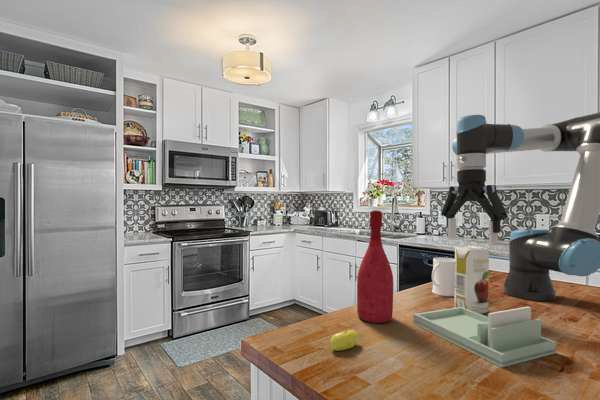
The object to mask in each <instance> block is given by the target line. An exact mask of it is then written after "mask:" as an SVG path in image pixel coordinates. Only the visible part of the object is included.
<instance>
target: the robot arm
mask: <svg viewBox="0 0 600 400" xmlns="http://www.w3.org/2000/svg"><path fill="white" fill-rule="evenodd" d="M456 124H457V125H456V136H455V138H454V139H453V140H452V145H451V147H452V148H451V149H452V151H453V153H454V154H455V155H456V157H457V158H456V163H457V165H456V168H457V169H458V171H457V172H456V174H457V175H456V177H457V178H456V181H457V183H458V186H449V189H448V195H447V197H446V199H445V202H444V205H443V207H442V210H441V212H440V215H441V216H443V217H445V218H446V229H447V236H448V238H447V239H448V240H450V241H451V240H457V237H458V236H457V234H458V233H457V227H458V226H457V217H456V215H457V214H458V213H459V211H460V209H461V208H462V207H463V205H464V204H465V203H467V202H476V203H478V204H479V205H480V206H481V208H482V209H483V211H484V212H485V213H486V214H487V216H488V217H489V218H490V220H488V245H489V246H496V245H499V234H500V233H501V222H502V221H503V220H507V219H508V218H509V215H508V213H507V211H506V209H505V207H504V205H503V203H502V201H501V199H500V197H499V194H498V192H497V185H496V184H486V181H487V170H485V169H486V167H487V155H488V154H498V153H499V154H500V153H511V152H522V151H523V152H524V151H525V152H526V151H534V150H535V151H537V150H539V151H542V152H547V153H548V152H577V153H578V154H579V155H580V156H579V159H578V163H577V166H576V168H575V172H574V176H573V178H572V181H571V185H570V187H569V191H568V195H567V198H566V201H565V204H564V208H563V210H562V214H561V216H560V217H561V218H560V221H559V222H558V223H557V224H555V225H552V227H551V229H550V230H549V229H518V230H516V229H515V230H513V231H511V232H510V234H509V240H508V244H509V245H508V246H509V251H508V252H509V271H508V274H507V276H506V278H505V281H504V284H503V293H505V294H506V295H508V296H512V297H513V298H514V297H515V298H518V299H524V300H531V301H538V302H548V301H549V302H550V301H554V300H556V290H555V287H554V285H553V282H552V278H551V276H550V271H552V272H557V273H562V274H565V275H567V276H576V277H588V276H591V275H592V274H595V273H596V272H597V271H598V270H599V269H600V241H599V238H600V236H599V235H598V234H597V233H596V231H595V229H596V225H597V222H598V219H599V216H600V112H596V113H591V114H586V115H582V116H578V117H575V118H570V119H567V120H563V121H560V122H555V123H548V124H544V125H542V126H541V127H533V128H532V127H531V128H522V127H521V126H519V125H515V124H511V123H506V124H503V123H502V124H500V123H494V124H493V123H487V120H486V116H485V115H483V114H469V115H468V114H467V115H464V116H462V117H459V118H458V120H457V123H456ZM485 193H486V194H485ZM486 195H487V196H486Z"/></svg>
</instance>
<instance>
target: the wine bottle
mask: <svg viewBox="0 0 600 400" xmlns="http://www.w3.org/2000/svg"><path fill="white" fill-rule="evenodd" d="M369 216H370V219H369V227H370V237H369V243H368V246H367V248H366V251H365V254H364V256H363V257H362V260H361V262H360V265H359V267H358V272H357V276H356V277H357V278H356V279H357V280H356V310H357V316H358V317H359V318H360V319H361V320H362V321H365V322H367V323H372V324H384V323H388V322H389V321H391V319H393V312H394V311H393V309H394V275H393V271H392V267H391V265H390V264H391V263H390V261H389V259H388V257H387V254H386V251H385V249H384V247H383V243H382V236H381V235H382V234H381V233H382V232H381V229H382V226H383V212H382V211H381V210H374V209H373V210H371V211H370V212H369Z"/></svg>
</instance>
